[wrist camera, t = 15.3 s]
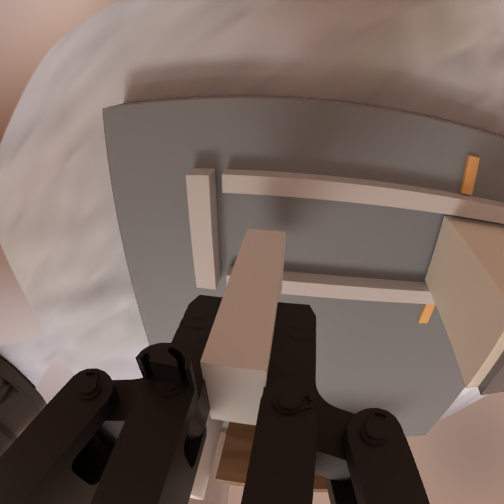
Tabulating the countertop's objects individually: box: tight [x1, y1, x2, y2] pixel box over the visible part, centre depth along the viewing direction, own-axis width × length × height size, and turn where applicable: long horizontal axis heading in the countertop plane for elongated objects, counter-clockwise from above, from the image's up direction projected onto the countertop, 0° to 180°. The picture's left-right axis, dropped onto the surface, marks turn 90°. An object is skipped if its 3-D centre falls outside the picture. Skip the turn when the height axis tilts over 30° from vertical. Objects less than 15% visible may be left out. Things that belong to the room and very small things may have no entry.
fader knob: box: [425, 215, 504, 395], centre depth 10 cm, size 4×4×7 cm
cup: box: [188, 431, 230, 504], centre depth 27 cm, size 8×8×12 cm
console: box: [102, 96, 504, 500], centre depth 15 cm, size 24×26×10 cm
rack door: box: [215, 422, 328, 492], centre depth 21 cm, size 2×12×6 cm, turn 92°
